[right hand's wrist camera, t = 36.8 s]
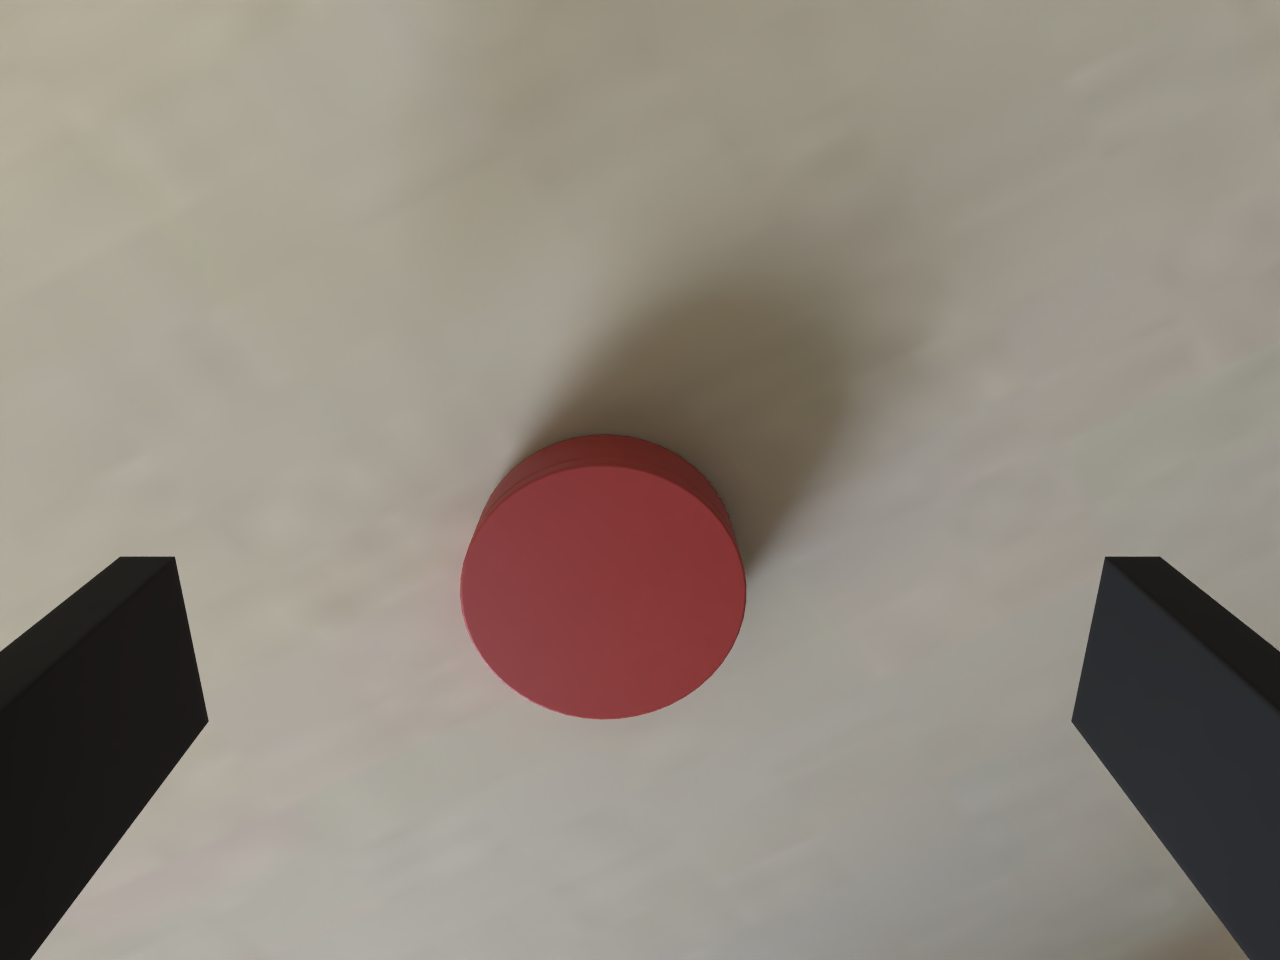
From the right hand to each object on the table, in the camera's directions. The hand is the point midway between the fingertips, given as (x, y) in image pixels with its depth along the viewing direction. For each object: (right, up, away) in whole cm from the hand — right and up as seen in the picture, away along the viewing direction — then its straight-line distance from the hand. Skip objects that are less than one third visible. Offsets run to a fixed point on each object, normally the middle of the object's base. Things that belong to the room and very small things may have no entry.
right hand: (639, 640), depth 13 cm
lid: (-1, 0, +2) cm, 2 cm away
